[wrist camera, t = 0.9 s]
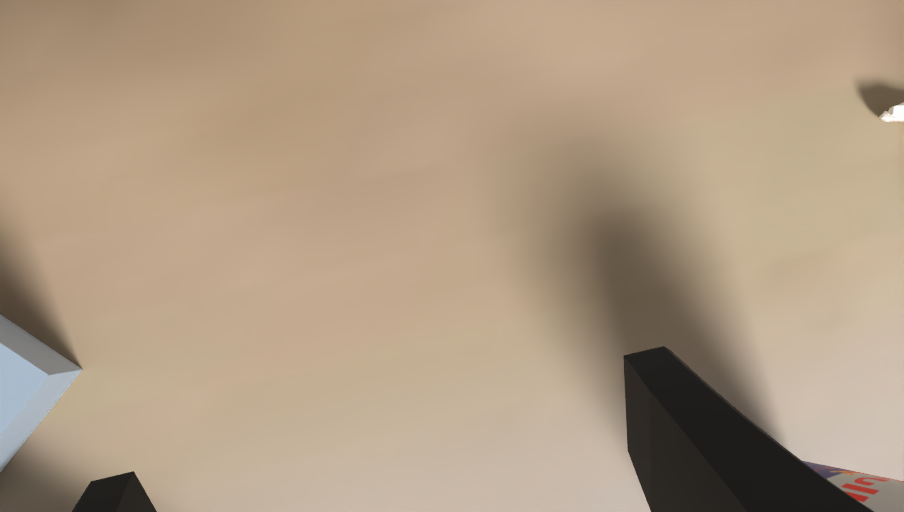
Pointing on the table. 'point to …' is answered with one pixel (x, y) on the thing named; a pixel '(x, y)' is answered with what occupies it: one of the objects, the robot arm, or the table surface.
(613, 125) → the table surface
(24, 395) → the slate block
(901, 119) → the person figurine
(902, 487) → the energy drink
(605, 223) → the table surface
